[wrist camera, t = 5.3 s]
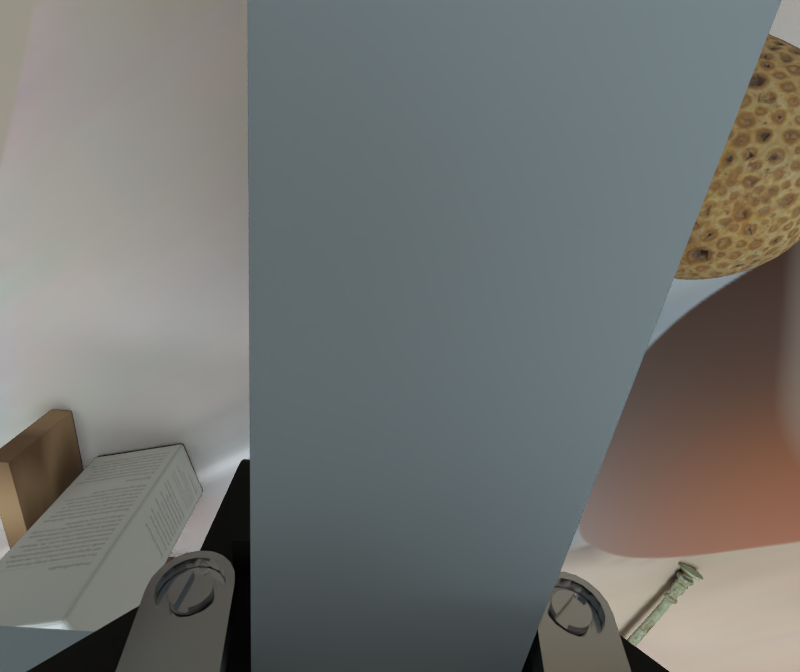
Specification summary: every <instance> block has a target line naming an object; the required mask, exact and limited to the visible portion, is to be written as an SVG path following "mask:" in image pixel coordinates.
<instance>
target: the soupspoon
mask: <svg viewBox="0 0 800 672" xmlns="http://www.w3.org/2000/svg"><path fill="white" fill-rule="evenodd" d="M679 566H680V567H681V569H682V572H680V571H679V572H677V579H675V582H673V583H672V585H671V591H670V593H665V594H664V596H665V597H664V599H663V600H662V601H661V603H660V604H659V605H658V606H657V607H656V608H655V609H654V610H653V611H652V613H651V614H650V615H649V616H648V617H647V618H646V619H645V621H644V622H643V623H642V624H641V625H640V626H639V627H638V628H637V629H636V630H635V631H634V633H633V634H632V635H631V636H630V637H629V638H628V639H627V641H629V642H630V643H631V644H633V645H634V646H636V645H637V644H638V643H639V642H640V641H641V639H642V638H643V637H644V636H645V635H646V634H647V633H648V631H649V630H650V629H651V628H652V627H653V626H654V624H655V623H656V622H657V621H658V620H659V619H660V617H661V616H662V615H663V614H664V613H665V611H666V610H667V609H668V608H669V606H670V605H671V604H672V603H674V604H676V603H677V596H680V595H682V594H683V593H684V592H685V589H688V586H691V585H693V580H692V578H695V579H698V580H703V577H702V576H701V575H700V574H699V572H697V571H696V570H695V569H694V568H692V567H690V566H688V565H685V564H682V563H679Z"/></svg>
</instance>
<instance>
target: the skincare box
mask: <svg viewBox="0 0 800 672" xmlns="http://www.w3.org/2000/svg"><path fill="white" fill-rule="evenodd" d="M201 494H202V488H201V486H200V484H199V482H198V479H197V477H196V475H195V472H194V470H193V468H192V465H191V463H190V461H189V458H188V456H187V453H186V451H185V449H184V446H183V445H182V444H180V445H174V446H168V447H162V448H155V449H149V450H142V451H136V452H129V453H123V454H116V455H110V456H103V457H97V458H95V459H94V460H93V461H92V462H91V463H90V464H89V465H88V467H87V468H86V469H85V470H84V471H83V472H82V473H81V474H80V475H79V476H78V477H77V478H76V479H75V480H74V481H73V482H72V484H71V485H70V486H69V487H68V488H67V489H66V490H65V491H64V492H63V493H62V494H61V495H60V496H59V498H58V499H57V500H56V501H55V502H54V503H53V504H52V505H51V506H50V507H49V508H48V509H47V511H46V512H45V513H44V514H43V515H42V516H41V517H40V518H39V519H38V520H37V521H36V522H35V523H34V524H33V526H32V527H31V528H30V529H29V530H28V531H27V532H26V533H25V534H24V535H23V536H22V537H21V538H20V539H19V541H18V542H17V543H16V544H15V545H14V546H13V547H12V548H11V549H10V550H9V551H8V552H7V553H6V554H5V556H4V557H3V558H2V559H1V560H0V626H12V627H29V628H46V629H63V630H80V631H96V630H98V629H100V628H102V627H103V626H105V625H107V624H108V623H110V622H112V621H114V620H115V619H117V618H119V617H120V616H122V615H124V614H125V613H127V612H129V611H131V610H132V609H134V608H136V607H137V606H139V605H140V602H141V600H142V597H143V594H144V591H145V589H146V587H147V585H148V583H149V581H150V580H151V578H152V576H153V575H154V574H155V573H156V572H157V571H158V570H159V569H160V568H161V567H162V566H163V565H164V564H165V562H166V561H167V559H168V557H169V555H170V553H171V551H172V549H173V547H174V545H175V543H176V542H177V540H178V538H179V536H180V534H181V532H182V530H183V528H184V527H185V525H186V523H187V521H188V519H189V517H190V515H191V513H192V511H193V509H194V508H195V506H196V504H197V502H198V500H199V498H200V496H201Z"/></svg>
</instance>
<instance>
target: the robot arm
mask: <svg viewBox="0 0 800 672" xmlns="http://www.w3.org/2000/svg"><path fill="white" fill-rule="evenodd" d="M26 672H251V558H250V460H246V459H243V460H242V461H241V462H240V464H239V466H238V468H237V470H236V473H235V475H234V477H233V479H232V481H231V484H230V486H229V488H228V490H227V492H226V495H225V497H224V499H223V501H222V503H221V506H220V508H219V510H218V512H217V514H216V517H215V519H214V521H213V523H212V525H211V528H210V530H209V532H208V534H207V536H206V539H205V541H204V543H203V545H202V547H201V549H200V551H195V552H190V553H186V554H183V555H181V556H178V557H176V558H174V559H172V560H171V561H169V562H168V563H166V564H165V565H163V566H162V567H161V568H160V569H159V570H158V571H157V572H156V573H155V574H154V575H153V576H152V578H151V580H150V581H149V583H148V585H147V587H146V589H145V591H144V594H143V597H142V600H141V602H140V605H139V606H137V607H136V608H134V609H132V610H131V611H129V612H127V613H125V614H124V615H122V616H120V617H119V618H117V619H115V620H114V621H112V622H110V623H108V624H107V625H105V626H103V627H102V628H100V629H98V630H96V631H95V632H93V633H91V634H90V635H88V636H86V637H84V638H83V639H81V640H79V641H78V642H76V643H74V644H73V645H71V646H69V647H67V648H66V649H64V650H62V651H61V652H59V653H57V654H55V655H54V656H52V657H50V658H49V659H47V660H45V661H43V662H42V663H40V664H38V665H37V666H35V667H33V668H32V669H30V670H28V671H26ZM521 672H669V671H668V670H666V669H665V668H664V667H662V666H661V665H660V664H658V663H657V662H656V661H654V660H653V659H652V658H650V657H649V656H647V655H646V654H645V653H643V652H642V651H641V650H639V649H638V648H637V647H635V646H634V645H633V644H631V643H630V642H629V641H627V640H626V639H625V638H623V637H622V636H620V634H619V631H618V628H617V625H616V622H615V618H614V615H613V613H612V611H611V608H610V606H609V604H608V602H607V601H606V600H605V598H604V597H603V596H602V595H601V593H600V592H599V591H598V590H597V589H596V588H595V587H593V586H592V585H591V584H590V583H589V582H587V581H585V580H584V579H582V578H580V577H578V576H576V575H573V574H570V573H567V572H560V573H559V576H558V578H557V581H556V583H555V586H554V588H553V591H552V594H551V596H550V599H549V601H548V604H547V606H546V609H545V612H544V614H543V617H542V619H541V622H540V625H539V627H538V630H537V632H536V635H535V637H534V640H533V643H532V645H531V648H530V650H529V653H528V656H527V658H526V661H525V663H524V666H523V668H522V671H521Z"/></svg>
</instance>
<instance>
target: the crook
mask: <svg viewBox="0 0 800 672" xmlns="http://www.w3.org/2000/svg"><path fill="white" fill-rule="evenodd" d="M780 3H781V0H248V184H249V371H250V558H251V672H521V671H522V668H523V666H524V663H525V661H526V658H527V656H528V653H529V650H530V648H531V645H532V643H533V640H534V637H535V635H536V632H537V630H538V627H539V625H540V622H541V619H542V617H543V614H544V612H545V609H546V606H547V604H548V601H549V599H550V596H551V594H552V591H553V588H554V586H555V583H556V581H557V578H558V576H559V573H560V570H561V568H562V565H563V563H564V560H565V557H566V555H567V552H568V550H569V547H570V545H571V542H572V539H573V537H574V534H575V532H576V529H577V526H578V524H579V521H580V519H581V516H582V514H583V511H584V508H585V506H586V503H587V500H588V498H589V495H590V493H591V490H592V488H593V485H594V483H595V480H596V477H597V475H598V472H599V470H600V467H601V465H602V462H603V459H604V457H605V454H606V452H607V449H608V446H609V444H610V441H611V438H612V436H613V434H614V431H615V428H616V426H617V423H618V420H619V418H620V415H621V413H622V410H623V408H624V405H625V403H626V400H627V397H628V395H629V392H630V390H631V387H632V385H633V382H634V379H635V377H636V374H637V371H638V369H639V366H640V364H641V361H642V359H643V356H644V354H645V351H646V348H647V346H648V343H649V341H650V338H651V335H652V333H653V330H654V328H655V325H656V323H657V320H658V317H659V315H660V312H661V310H662V307H663V305H664V302H665V299H666V297H667V294H668V292H669V289H670V286H671V284H672V281H673V279H674V276H675V274H676V271H677V268H678V266H679V263H680V261H681V258H682V255H683V253H684V250H685V248H686V245H687V243H688V240H689V237H690V235H691V232H692V230H693V227H694V225H695V222H696V219H697V217H698V214H699V212H700V209H701V206H702V204H703V201H704V199H705V196H706V194H707V191H708V188H709V186H710V183H711V181H712V178H713V175H714V173H715V170H716V168H717V165H718V163H719V160H720V157H721V155H722V152H723V150H724V147H725V145H726V142H727V139H728V137H729V134H730V132H731V129H732V126H733V124H734V121H735V119H736V116H737V114H738V111H739V108H740V106H741V103H742V101H743V98H744V95H745V93H746V90H747V88H748V85H749V83H750V80H751V77H752V75H753V72H754V70H755V67H756V65H757V62H758V59H759V57H760V54H761V52H762V49H763V46H764V44H765V41H766V39H767V36H768V34H769V31H770V28H771V26H772V23H773V21H774V18H775V15H776V13H777V10H778V8H779V5H780ZM93 632H95V631H80V630H63V629H46V628H29V627H12V626H0V672H26V671H28V670H30V669H32V668H33V667H35V666H37V665H38V664H40V663H42V662H43V661H45V660H47V659H49V658H50V657H52V656H54V655H55V654H57V653H59V652H61V651H62V650H64V649H66V648H67V647H69V646H71V645H73V644H74V643H76V642H78V641H79V640H81V639H83V638H84V637H86V636H88V635H90V634H91V633H93Z"/></svg>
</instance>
